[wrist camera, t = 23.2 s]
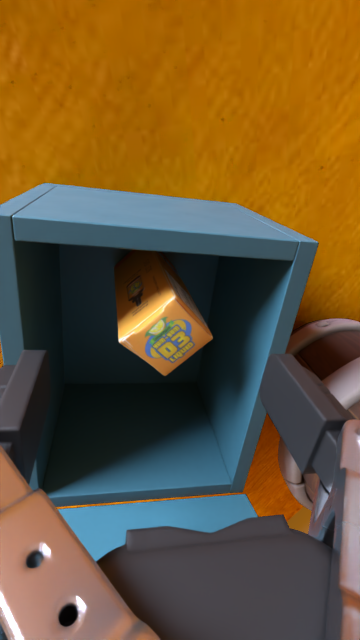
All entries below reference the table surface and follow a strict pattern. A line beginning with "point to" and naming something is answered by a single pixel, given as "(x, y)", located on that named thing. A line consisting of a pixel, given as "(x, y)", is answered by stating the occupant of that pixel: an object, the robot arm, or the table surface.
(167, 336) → the supplement box
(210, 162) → the table surface
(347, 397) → the flowerpot
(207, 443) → the bin
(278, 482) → the table surface
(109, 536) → the lid
